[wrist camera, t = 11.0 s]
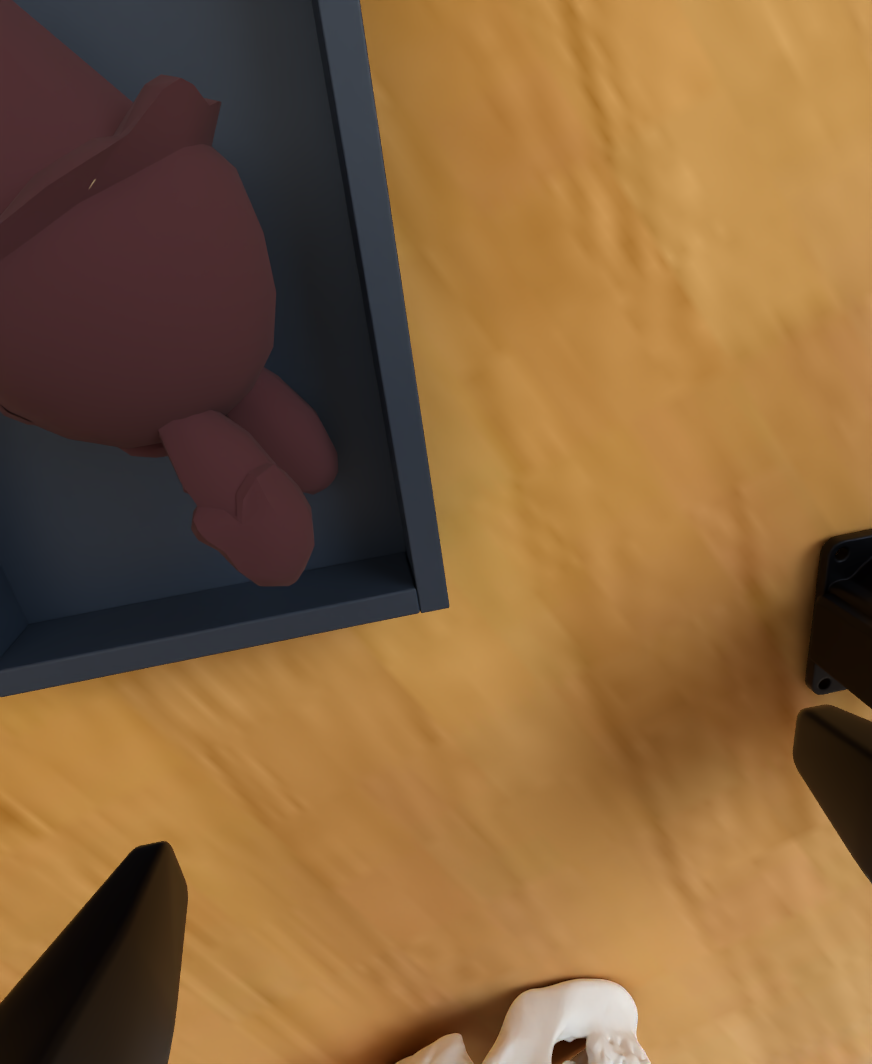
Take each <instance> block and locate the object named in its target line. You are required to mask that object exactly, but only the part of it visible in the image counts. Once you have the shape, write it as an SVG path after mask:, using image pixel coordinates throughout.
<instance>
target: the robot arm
mask: <svg viewBox="0 0 872 1064" xmlns="http://www.w3.org/2000/svg"><path fill="white" fill-rule="evenodd" d="M839 549H840V551H839V552H838V553H837V554H836V552H837V551H838V550H839ZM805 683H806V685H807V687H808V688H810V689H811V690H812V691H813V692H814V693H816V694H818V695H823V694H828V693H832V692H837V691H841V690H845V689H848V690H849V691H850V692H852V693H853V694H854V695H855V696H856V697H858V698H859V699H860V700H861V701H863V702H864V703H865V704H866V705H868V706H869V707H870V708H871V709H872V529H870V530H865V531H860V532H855V533H850V534H845V535H840V536H835V537H833V538H830V539H829V540H828V541H826V542H825V544H824V545H823V546H822V549H821V553H820V561H819V569H818V578H817V586H816V595H815V603H814V611H813V620H812V628H811V636H810V645H809V653H808V661H807V670H806V678H805ZM793 759H794V763H795V765H796V768H797V769H798V771H799V773H800V775H801V776H802V778H803V779H804V781H805V782H806V784H807V786H808V787H809V789H810V790H811V792H812V794H813V795H814V797H815V798H816V800H817V801H818V803H819V805H820V806H821V808H822V809H823V811H824V812H825V814H826V816H827V817H828V819H829V820H830V822H831V824H832V825H833V827H834V828H835V830H836V831H837V833H838V835H839V836H840V838H841V839H842V841H843V842H844V844H845V846H846V847H847V849H848V850H849V852H850V853H851V855H852V856H853V858H854V859H855V861H856V862H857V864H858V865H859V867H860V868H861V870H862V871H863V873H864V874H865V875H866V877H867V878H868V879H869V881H870V882H871V883H872V722H871V721H869V720H866V719H864V718H861V717H859V716H856V715H854V714H852V713H849V712H847V711H844V710H842V709H840V708H837V707H835V706H832V705H820V706H815V707H810V708H805V709H803V710H801V711H800V712H799V714H798V716H797V721H796V729H795V737H794V745H793ZM187 903H188V891H187V884H186V881H185V878H184V876H183V873H182V871H181V868H180V866H179V863H178V861H177V858H176V856H175V853H174V851H173V848H172V847H171V845H170V844H169V843H168V842H166V841H161V842H156V843H151V844H146V845H142V846H138V847H136V848H135V849H133V850H132V851H131V852H130V853H129V854H128V856H127V857H126V858H125V859H124V860H123V861H122V863H121V864H120V865H119V866H118V867H117V868H116V870H115V871H114V872H113V873H112V874H111V875H110V877H109V878H108V879H107V880H106V881H105V882H104V884H103V885H102V886H101V887H100V888H99V889H98V890H97V892H96V893H95V894H94V895H93V896H92V897H91V899H90V900H89V901H88V902H87V903H86V904H85V906H84V907H83V908H82V909H81V910H80V911H79V913H78V914H77V915H76V916H75V917H74V918H73V920H72V921H71V922H70V923H69V924H68V925H67V927H66V928H65V929H64V930H63V931H62V932H61V933H60V935H59V936H58V937H57V938H56V939H55V940H54V942H53V943H52V944H51V945H50V946H49V947H48V949H47V950H46V951H45V952H44V953H43V954H42V956H41V957H40V958H39V959H38V960H37V961H36V963H35V964H34V965H33V966H32V967H31V968H30V970H29V971H28V972H27V973H26V974H25V975H24V976H23V978H22V979H21V980H20V981H19V982H18V983H17V985H16V986H15V987H14V988H13V989H12V990H11V992H10V993H9V994H8V995H7V996H6V997H5V999H4V1000H3V1001H2V1002H1V1003H0V1064H168V1059H169V1054H170V1049H171V1043H172V1038H173V1032H174V1026H175V1018H176V1010H177V1001H178V991H179V981H180V972H181V962H182V952H183V942H184V933H185V923H186V913H187Z"/></svg>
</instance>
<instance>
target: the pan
mask: <svg viewBox="0 0 872 1064" xmlns="http://www.w3.org/2000/svg"><path fill="white" fill-rule="evenodd" d="M12 1H14V2H15V3H16V4H17V5H18V6H20V7H21V8H22V9H23V10H24V11H25V12H27V13H28V14H29V15H30V16H31V17H33V18H34V19H35V20H36V21H37V22H39V23H40V24H41V25H42V26H43V27H44V28H46V29H47V30H48V31H49V32H50V33H52V34H53V35H54V36H55V37H56V38H57V39H59V40H60V41H61V42H62V43H63V44H65V45H66V46H67V47H68V48H69V49H70V50H72V51H73V52H74V53H75V54H76V55H78V56H79V57H80V58H81V59H82V60H83V61H85V62H86V63H87V64H88V65H89V66H91V67H92V68H93V69H94V70H95V71H96V72H98V73H99V74H100V75H101V76H102V77H104V78H105V79H106V80H107V81H108V82H109V83H111V84H112V85H113V86H114V87H115V88H117V89H118V90H119V91H120V92H121V93H122V94H124V95H125V96H126V97H127V98H128V99H130V100H131V101H132V102H134V101H135V99H136V97H137V96H138V94H139V93H140V91H141V89H142V88H143V86H144V85H145V84H146V83H148V82H149V81H151V80H153V79H154V78H156V77H157V76H159V75H161V74H162V75H168V76H174V77H179V78H182V79H184V80H186V81H188V82H190V83H192V84H193V85H194V86H195V87H196V89H197V90H198V91H199V93H200V94H201V95H202V97H203V98H207V99H211V100H216V101H220V102H221V106H220V111H219V115H218V120H217V125H216V129H215V134H214V138H213V143H212V147H213V148H214V149H215V150H216V151H217V152H219V153H220V154H221V155H222V156H223V157H224V158H225V159H226V160H227V161H229V162H230V163H231V164H232V165H233V166H234V167H235V168H236V169H237V172H238V174H239V176H240V179H241V181H242V183H243V186H244V188H245V190H246V193H247V195H248V197H249V200H250V202H251V204H252V207H253V209H254V212H255V214H256V216H257V219H258V221H259V223H260V226H261V228H262V230H263V233H264V238H265V242H266V247H267V252H268V256H269V261H270V266H271V270H272V275H273V280H274V284H275V289H276V306H275V325H274V344H273V349H272V351H271V353H270V355H269V357H268V359H267V361H266V363H265V365H264V367H265V368H266V369H268V370H270V371H271V372H273V373H275V374H276V375H278V376H279V377H280V378H281V379H282V380H283V381H284V382H285V383H286V384H288V385H289V386H290V387H291V388H292V389H293V390H294V391H295V392H296V393H297V394H298V395H299V396H300V397H301V398H302V399H303V400H305V401H306V402H307V403H308V404H309V405H310V406H311V407H312V408H313V409H314V410H315V411H316V413H317V415H318V417H319V419H320V421H321V422H322V424H323V426H324V428H325V430H326V432H327V434H328V436H329V438H330V440H331V441H332V443H333V445H334V447H335V449H336V451H337V455H338V473H337V475H336V477H335V479H334V481H333V482H332V483H331V484H330V485H329V486H328V487H327V488H325V489H324V490H322V491H320V492H318V493H316V494H314V495H312V494H308V493H304V492H303V494H304V496H305V497H306V499H307V501H308V503H309V504H310V506H311V511H312V521H313V531H314V548H313V551H312V553H311V555H310V558H309V560H308V562H307V565H306V567H305V569H304V571H303V572H302V574H301V576H300V577H299V579H298V580H297V581H296V582H295V583H293V584H292V585H290V586H258V585H257V584H255V583H254V582H253V581H251V580H250V579H248V578H247V577H246V576H244V575H243V574H241V573H240V572H238V571H237V570H236V569H235V568H234V567H233V566H232V565H231V564H230V563H229V562H228V561H227V560H226V558H225V557H224V556H223V555H222V554H221V553H220V552H219V551H217V550H216V549H214V548H212V547H210V546H208V545H206V544H204V543H202V542H200V541H198V539H197V538H196V536H195V535H194V533H193V532H192V530H191V525H192V517H193V511H194V510H195V508H196V507H197V505H196V503H195V502H194V500H193V499H192V497H191V496H190V495H189V494H187V493H185V492H184V491H183V487H182V484H181V482H180V480H179V478H178V476H177V474H176V472H175V470H174V467H173V465H172V463H171V461H170V459H169V457H168V456H165V457H159V458H152V457H138V456H131V455H129V454H127V453H126V452H124V451H123V450H121V449H120V448H118V447H114V446H108V445H102V444H96V443H90V442H84V441H77V440H71V439H67V438H65V437H62V436H60V435H57V434H55V433H52V432H50V431H48V430H45V429H43V428H40V427H38V426H35V425H27V424H24V423H22V422H19V421H17V420H14V419H11V418H9V417H6V416H4V415H3V414H2V413H1V411H0V697H5V696H10V695H15V694H20V693H25V692H30V691H35V690H40V689H45V688H50V687H55V686H60V685H65V684H70V683H75V682H80V681H85V680H89V679H94V678H99V677H104V676H109V675H114V674H119V673H124V672H129V671H134V670H139V669H144V668H149V667H154V666H159V665H164V664H169V663H174V662H179V661H184V660H189V659H194V658H199V657H204V656H209V655H213V654H218V653H223V652H228V651H233V650H238V649H243V648H248V647H253V646H258V645H263V644H268V643H273V642H278V641H283V640H288V639H293V638H298V637H303V636H308V635H313V634H318V633H323V632H328V631H333V630H337V629H342V628H347V627H352V626H357V625H362V624H367V623H372V622H377V621H382V620H387V619H392V618H397V617H402V616H407V615H412V614H417V613H419V612H420V611H421V613H425V612H430V611H435V610H440V609H445V608H449V600H448V593H447V586H446V580H445V573H444V566H443V559H442V553H441V546H440V539H439V532H438V526H437V519H436V512H435V505H434V499H433V492H432V485H431V478H430V472H429V465H428V458H427V451H426V445H425V438H424V431H423V424H422V418H421V411H420V404H419V397H418V391H417V384H416V377H415V370H414V363H413V357H412V350H411V343H410V336H409V330H408V323H407V316H406V309H405V303H404V296H403V289H402V282H401V276H400V269H399V262H398V255H397V249H396V242H395V235H394V228H393V222H392V215H391V208H390V201H389V195H388V188H387V181H386V174H385V168H384V161H383V154H382V147H381V141H380V134H379V127H378V120H377V114H376V107H375V100H374V93H373V87H372V80H371V73H370V66H369V60H368V53H367V46H366V39H365V33H364V26H363V19H362V12H361V6H360V0H12ZM225 416H226V415H225Z"/></svg>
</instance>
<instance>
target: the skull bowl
mask: <svg viewBox="0 0 872 1064" xmlns="http://www.w3.org/2000/svg"><path fill="white" fill-rule="evenodd" d="M637 1022H638V1012H637V1008H636V1005H635V1002H634V1000H633V999H632V997H631V996H630V994H629V993H628V992H627V991H626V990H625V989H624V988H623V987H622V986H621V985H619V984H617V983H615V982H612V981H610V980H604V979H574V980H568V981H564V982H561V983H558V984H555V985H551V986H548V987H543V988H536V989H530V990H527V991H525V992H522V993H521V994H520V995H519V996H518V997H517V998H516V999H515V1000H514V1001H513V1003H512V1004H511V1006H510V1008H509V1010H508V1012H507V1014H506V1016H505V1019H504V1021H503V1025H502V1027H501V1030H500V1032H499V1035H498V1037H497V1039H496V1041H495V1043H494V1045H493V1046H492V1048H491V1049H490V1051H489V1052H488V1054H487V1056H486V1057H485V1059H484V1061H483V1062H482V1063H481V1064H552V1063H551V1058H552V1051H553V1047H554V1044H556V1043H557V1042H559V1041H562V1040H565V1041H567V1042H572V1041H573V1040H574V1039H577V1038H586V1048H584V1049H583V1050H582V1051H581V1052H579V1053H578V1054H577V1055H576V1056H575V1057H573V1058H572V1059H571V1060H568V1061H564V1062H563V1063H562V1064H651V1062H650V1061H649V1059H648V1057H647V1055H646V1053H645V1051H644V1049H643V1048H642V1047H641V1045H640V1044H639V1042H638V1041H637V1036H636V1029H637ZM395 1064H474V1063H473V1061H472V1060H471V1059H470V1057H469V1055H468V1054H467V1052H466V1048H465V1044H464V1043H463V1038H462V1036H461V1034H458V1033H453V1034H448V1035H445V1036H443V1037H441V1038H439V1039H438V1040H436V1041H435V1042H433V1043H431V1044H430V1045H428V1046H426V1047H425V1048H423V1049H421V1050H419V1051H418V1052H416V1053H415V1054H414V1055H413V1056H409V1057H406V1058H404V1059H402V1060H400V1061H399V1062H397V1063H395Z"/></svg>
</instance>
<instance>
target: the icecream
mask: <svg viewBox="0 0 872 1064" xmlns="http://www.w3.org/2000/svg"><path fill="white" fill-rule="evenodd" d="M220 106H221V102H220V101H216V100H211V99H207V98H203V97H202V95H201V94H200V93H199V91H198V90H197V89H196V87H195V86H194V85H193V84H192V83H190V82H188V81H186V80H184V79H182V78H179V77H174V76H168V75H162V74H161V75H159V76H157V77H156V78H154V79H153V80H151V81H149V82H148V83H146V84H145V85H144V86H143V88H142V89H141V91H140V93H139V94H138V96H137V97H136V99H135V101H134V102H132V101H131V100H130V99H128V98H127V97H126V96H125V95H124V94H122V93H121V92H120V91H119V90H118V89H117V88H115V87H114V86H113V85H112V84H111V83H109V82H108V81H107V80H106V79H105V78H104V77H102V76H101V75H100V74H99V73H98V72H96V71H95V70H94V69H93V68H92V67H91V66H89V65H88V64H87V63H86V62H85V61H83V60H82V59H81V58H80V57H79V56H78V55H76V54H75V53H74V52H73V51H72V50H70V49H69V48H68V47H67V46H66V45H65V44H63V43H62V42H61V41H60V40H59V39H57V38H56V37H55V36H54V35H53V34H52V33H50V32H49V31H48V30H47V29H46V28H44V27H43V26H42V25H41V24H40V23H39V22H37V21H36V20H35V19H34V18H33V17H31V16H30V15H29V14H28V13H27V12H25V11H24V10H23V9H22V8H21V7H20V6H18V5H17V4H16V3H15V2H14V1H12V0H0V411H1V413H2V414H3V415H4V416H6V417H9V418H11V419H14V420H17V421H19V422H22V423H24V424H27V425H35V426H38V427H40V428H43V429H45V430H48V431H50V432H52V433H55V434H57V435H60V436H62V437H65V438H67V439H71V440H77V441H84V442H90V443H96V444H102V445H108V446H114V447H118V448H120V449H121V450H123V451H124V452H126V453H127V454H129V455H131V456H138V457H152V458H159V457H165V456H168V457H169V459H170V461H171V463H172V465H173V467H174V470H175V472H176V474H177V476H178V478H179V480H180V482H181V484H182V487H183V491H184V492H185V493H187V494H189V495H190V496H191V497H192V499H193V500H194V502H195V503H196V505H197V507H196V508H195V510H194V511H193V517H192V525H191V530H192V532H193V533H194V535H195V536H196V538H197V539H198V541H200V542H202V543H204V544H206V545H208V546H210V547H212V548H214V549H216V550H217V551H219V552H220V553H221V554H222V555H223V556H224V557H225V558H226V560H227V561H228V562H229V563H230V564H231V565H232V566H233V567H234V568H235V569H236V570H237V571H238V572H240V573H241V574H243V575H244V576H246V577H247V578H248V579H250V580H251V581H253V582H254V583H255V584H257V585H258V586H290V585H292V584H293V583H295V582H296V581H297V580H298V579H299V577H300V576H301V574H302V572H303V571H304V569H305V567H306V565H307V562H308V560H309V558H310V555H311V553H312V551H313V548H314V531H313V521H312V511H311V506H310V504H309V503H308V501H307V499H306V497H305V496H304V494H303V492H304V493H308V494H312V495H314V494H316V493H318V492H320V491H322V490H324V489H325V488H327V487H328V486H329V485H330V484H331V483H332V482H333V481H334V479H335V477H336V475H337V473H338V455H337V451H336V449H335V447H334V445H333V443H332V441H331V440H330V438H329V436H328V434H327V432H326V430H325V428H324V426H323V424H322V422H321V421H320V419H319V417H318V415H317V413H316V411H315V410H314V409H313V408H312V407H311V406H310V405H309V404H308V403H307V402H306V401H305V400H303V399H302V398H301V397H300V396H299V395H298V394H297V393H296V392H295V391H294V390H293V389H292V388H291V387H290V386H289V385H288V384H286V383H285V382H284V381H283V380H282V379H281V378H280V377H279V376H278V375H276V374H275V373H273V372H271V371H270V370H268V369H266V368H265V367H264V365H265V363H266V361H267V359H268V357H269V355H270V353H271V351H272V349H273V344H274V325H275V306H276V289H275V284H274V280H273V275H272V270H271V266H270V261H269V256H268V252H267V247H266V242H265V238H264V233H263V230H262V228H261V226H260V223H259V221H258V219H257V216H256V214H255V212H254V209H253V207H252V204H251V202H250V200H249V197H248V195H247V193H246V190H245V188H244V186H243V183H242V181H241V179H240V176H239V174H238V172H237V169H236V168H235V167H234V166H233V165H232V164H231V163H230V162H229V161H227V160H226V159H225V158H224V157H223V156H222V155H221V154H220V153H219V152H217V151H216V150H215V149H214V148H213V147H212V143H213V138H214V134H215V129H216V125H217V120H218V115H219V111H220ZM225 415H226V416H225Z"/></svg>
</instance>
